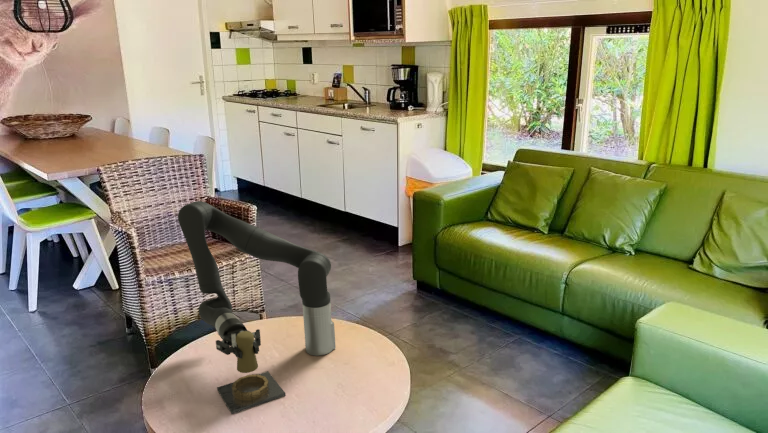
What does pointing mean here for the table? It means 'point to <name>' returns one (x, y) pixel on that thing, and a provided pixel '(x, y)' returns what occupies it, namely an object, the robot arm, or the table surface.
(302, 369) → the table surface
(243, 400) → the collar plate
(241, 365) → the cork
